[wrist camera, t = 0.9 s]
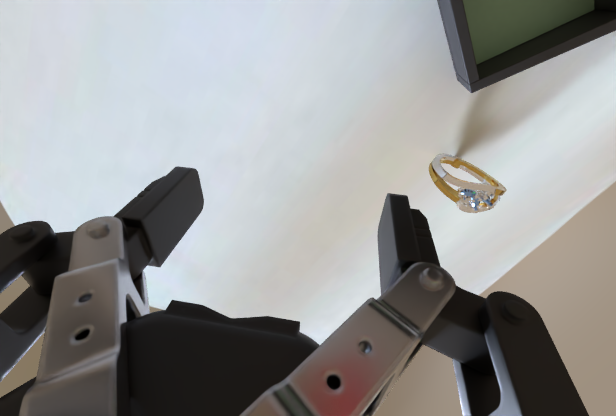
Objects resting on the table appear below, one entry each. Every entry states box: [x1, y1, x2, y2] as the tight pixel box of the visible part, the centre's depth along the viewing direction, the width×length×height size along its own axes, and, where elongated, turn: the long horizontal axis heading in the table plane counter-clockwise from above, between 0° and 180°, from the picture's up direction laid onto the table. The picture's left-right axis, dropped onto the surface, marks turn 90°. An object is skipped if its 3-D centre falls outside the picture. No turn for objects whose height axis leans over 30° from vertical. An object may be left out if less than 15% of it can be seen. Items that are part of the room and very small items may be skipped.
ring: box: [429, 154, 507, 213], centre depth 28 cm, size 7×3×8 cm, turn 70°
